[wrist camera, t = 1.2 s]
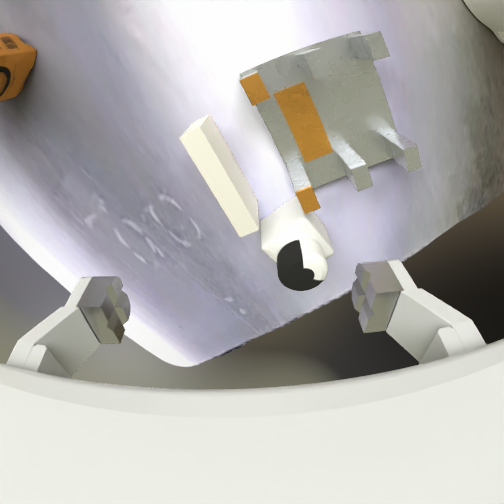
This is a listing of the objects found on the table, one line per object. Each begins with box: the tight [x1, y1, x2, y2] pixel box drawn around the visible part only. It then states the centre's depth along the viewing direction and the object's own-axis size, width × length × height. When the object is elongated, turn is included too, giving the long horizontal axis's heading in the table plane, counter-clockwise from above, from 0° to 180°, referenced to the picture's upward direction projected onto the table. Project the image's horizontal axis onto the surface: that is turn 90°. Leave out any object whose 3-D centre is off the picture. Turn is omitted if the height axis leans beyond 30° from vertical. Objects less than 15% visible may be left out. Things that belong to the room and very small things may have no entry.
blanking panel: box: [180, 114, 259, 238], centre depth 36 cm, size 2×14×8 cm, turn 26°
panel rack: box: [239, 31, 421, 214], centre depth 31 cm, size 16×18×8 cm
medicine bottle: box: [260, 195, 334, 291], centre depth 40 cm, size 7×7×12 cm
